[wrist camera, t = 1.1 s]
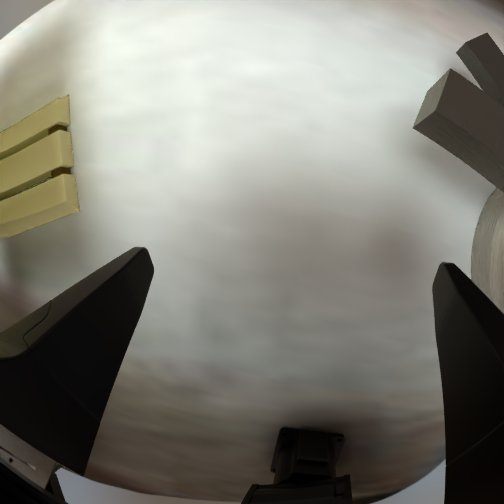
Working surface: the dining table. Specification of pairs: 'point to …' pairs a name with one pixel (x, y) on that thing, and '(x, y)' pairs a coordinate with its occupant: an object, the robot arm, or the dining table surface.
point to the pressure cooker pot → (499, 204)
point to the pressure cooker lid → (465, 124)
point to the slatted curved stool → (37, 170)
